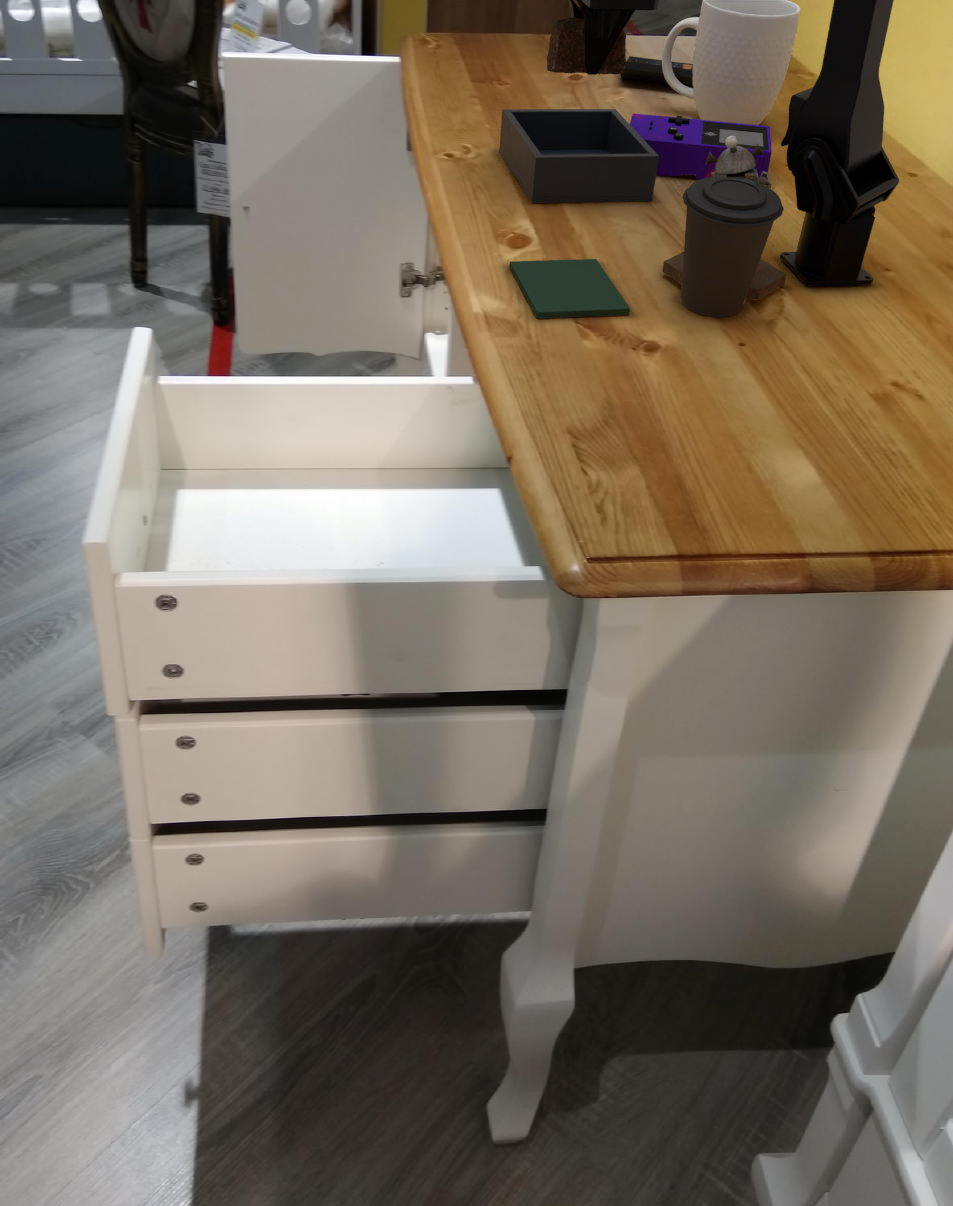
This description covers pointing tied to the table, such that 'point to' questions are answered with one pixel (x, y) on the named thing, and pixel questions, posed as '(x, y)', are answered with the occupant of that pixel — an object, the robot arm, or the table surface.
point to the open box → (577, 155)
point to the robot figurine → (741, 166)
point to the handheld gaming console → (698, 143)
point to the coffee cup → (724, 241)
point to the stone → (580, 49)
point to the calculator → (656, 70)
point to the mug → (736, 57)
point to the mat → (568, 288)
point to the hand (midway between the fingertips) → (587, 69)
